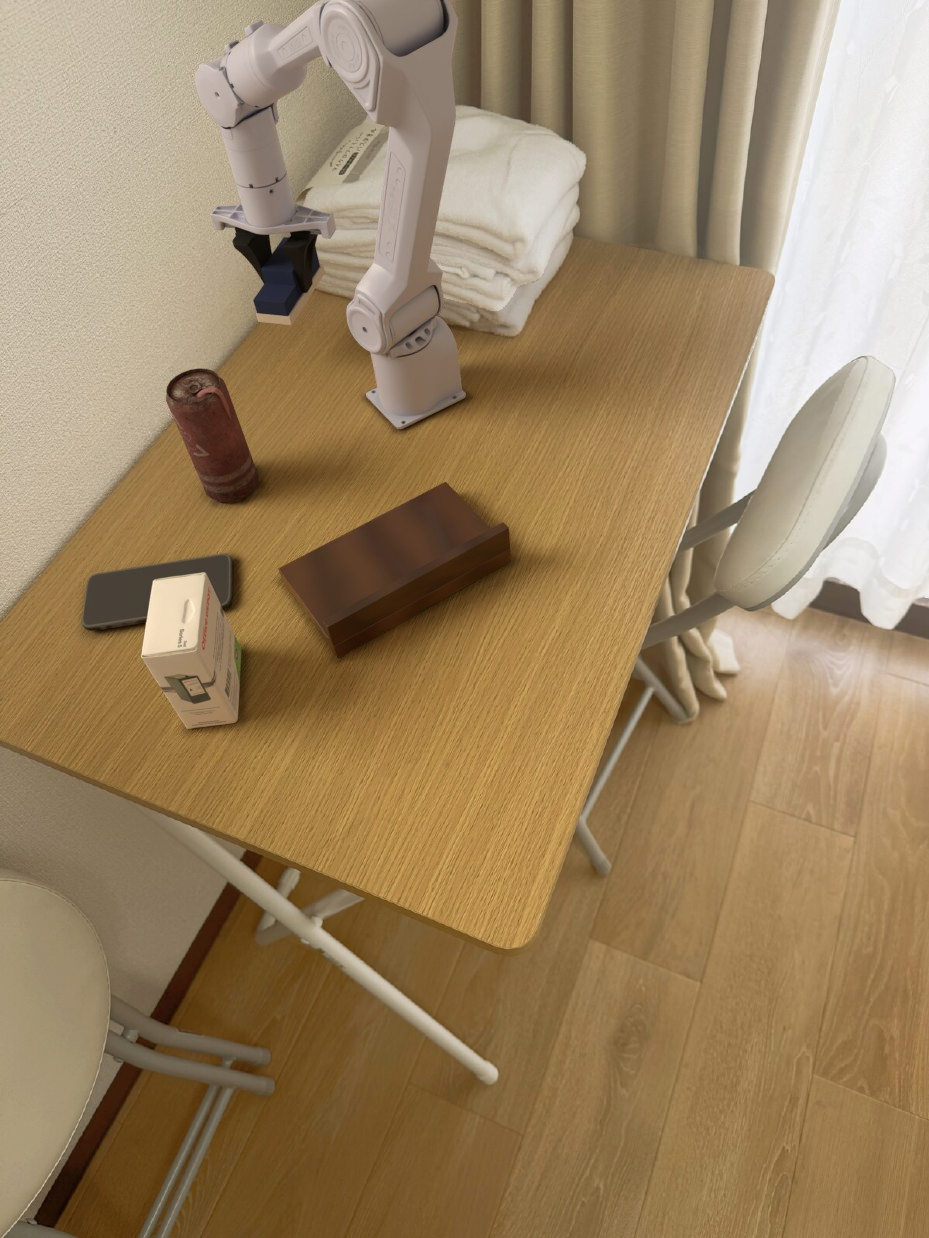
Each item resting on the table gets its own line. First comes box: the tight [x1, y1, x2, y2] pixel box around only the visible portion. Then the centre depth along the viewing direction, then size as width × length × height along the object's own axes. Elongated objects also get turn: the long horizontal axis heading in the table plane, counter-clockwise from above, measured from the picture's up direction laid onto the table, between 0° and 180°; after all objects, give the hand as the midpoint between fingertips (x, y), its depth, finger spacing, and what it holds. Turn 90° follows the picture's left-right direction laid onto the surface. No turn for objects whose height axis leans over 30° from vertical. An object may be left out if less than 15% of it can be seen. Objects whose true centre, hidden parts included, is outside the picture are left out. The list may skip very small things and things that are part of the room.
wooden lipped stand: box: [277, 481, 512, 659], centre depth 90 cm, size 20×12×5 cm, turn 123°
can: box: [165, 367, 259, 504], centre depth 97 cm, size 6×6×14 cm
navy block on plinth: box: [252, 236, 326, 326], centre depth 110 cm, size 11×4×5 cm, turn 164°
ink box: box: [140, 573, 243, 730], centre depth 81 cm, size 9×5×12 cm, turn 5°
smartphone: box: [81, 553, 234, 632], centre depth 93 cm, size 7×1×15 cm
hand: (290, 286), depth 110 cm, fingers closed on navy block on plinth, 4 cm apart
